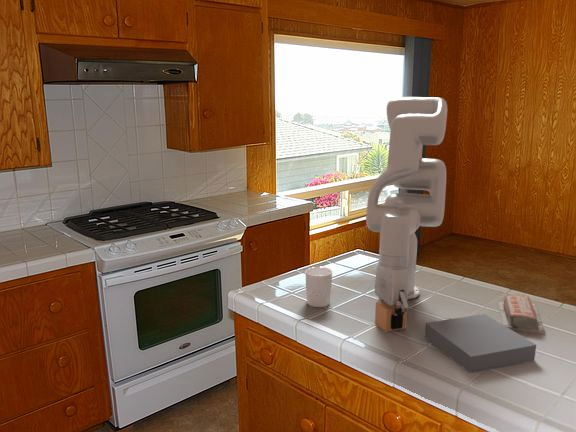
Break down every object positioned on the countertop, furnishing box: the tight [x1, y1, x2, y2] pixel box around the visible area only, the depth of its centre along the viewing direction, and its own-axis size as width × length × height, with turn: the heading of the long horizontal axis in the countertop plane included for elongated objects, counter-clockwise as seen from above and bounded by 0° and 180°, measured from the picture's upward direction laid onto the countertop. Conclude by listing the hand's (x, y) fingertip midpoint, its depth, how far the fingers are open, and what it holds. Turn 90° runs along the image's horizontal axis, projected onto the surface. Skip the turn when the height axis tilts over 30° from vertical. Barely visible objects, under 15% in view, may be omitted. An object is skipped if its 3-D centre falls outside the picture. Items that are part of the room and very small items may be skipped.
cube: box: [374, 301, 408, 333], centre depth 137 cm, size 6×6×6 cm
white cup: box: [305, 266, 333, 308], centre depth 151 cm, size 8×8×10 cm
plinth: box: [424, 313, 537, 374], centre depth 125 cm, size 18×18×4 cm
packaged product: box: [498, 293, 545, 335], centre depth 142 cm, size 18×5×10 cm
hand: (390, 322), depth 137 cm, fingers closed on cube, 6 cm apart
